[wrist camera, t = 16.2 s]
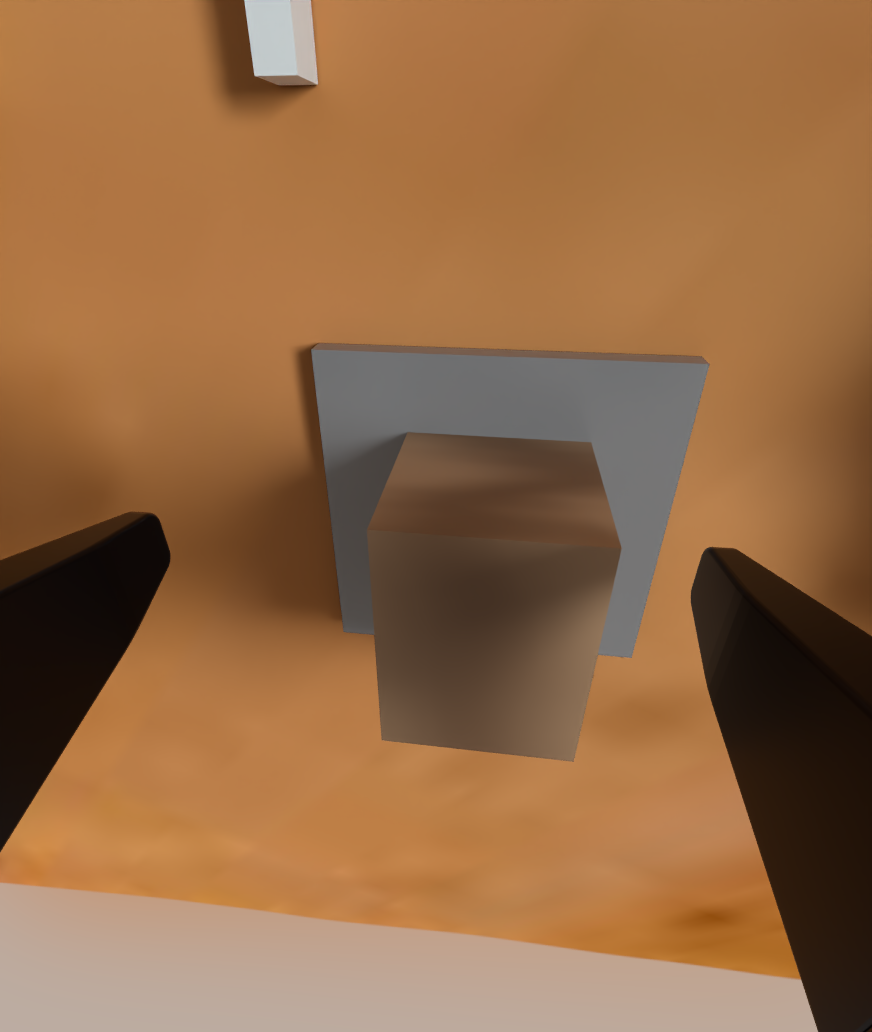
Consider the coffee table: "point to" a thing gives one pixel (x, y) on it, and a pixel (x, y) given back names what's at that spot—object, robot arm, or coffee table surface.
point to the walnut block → (490, 592)
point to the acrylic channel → (282, 41)
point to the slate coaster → (510, 414)
